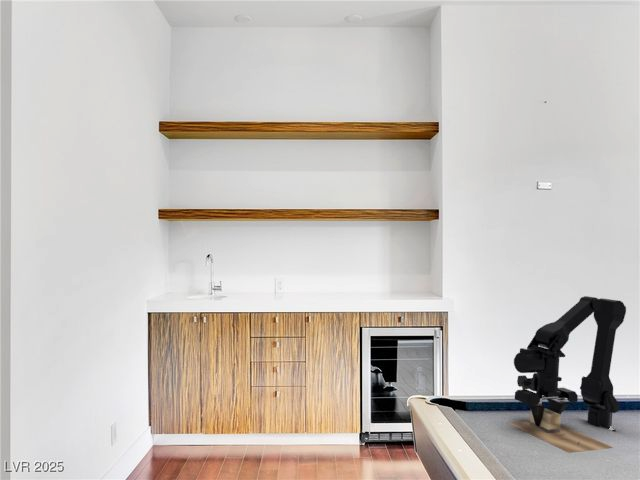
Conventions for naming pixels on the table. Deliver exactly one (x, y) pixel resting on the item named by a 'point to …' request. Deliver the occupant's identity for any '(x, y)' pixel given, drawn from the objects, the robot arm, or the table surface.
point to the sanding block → (548, 421)
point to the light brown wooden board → (563, 438)
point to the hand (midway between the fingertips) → (544, 425)
